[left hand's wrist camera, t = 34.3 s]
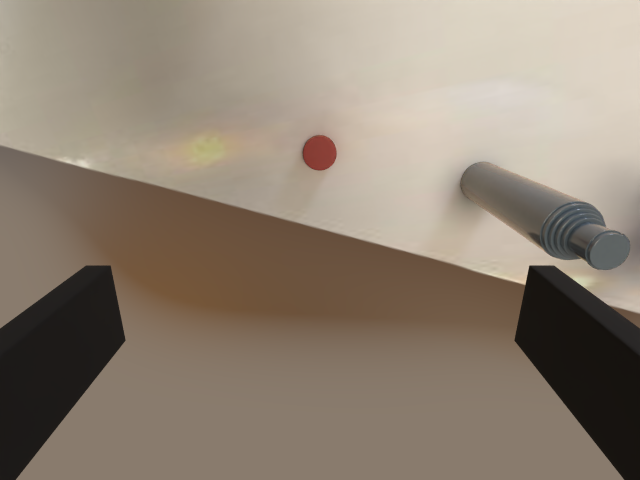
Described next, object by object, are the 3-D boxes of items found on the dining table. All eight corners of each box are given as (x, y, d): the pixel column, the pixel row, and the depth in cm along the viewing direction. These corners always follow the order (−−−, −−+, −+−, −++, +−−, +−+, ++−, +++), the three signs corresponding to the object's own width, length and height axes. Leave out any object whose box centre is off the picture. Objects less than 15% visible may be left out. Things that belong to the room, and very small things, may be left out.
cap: (335, 168, 47) (335, 170, 46) (303, 167, 47) (303, 170, 46) (336, 135, 46) (337, 137, 44) (303, 134, 46) (303, 136, 44)
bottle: (480, 207, 49) (605, 296, 28) (452, 185, 48) (558, 259, 27) (508, 177, 48) (661, 245, 26) (479, 153, 47) (614, 204, 25)
